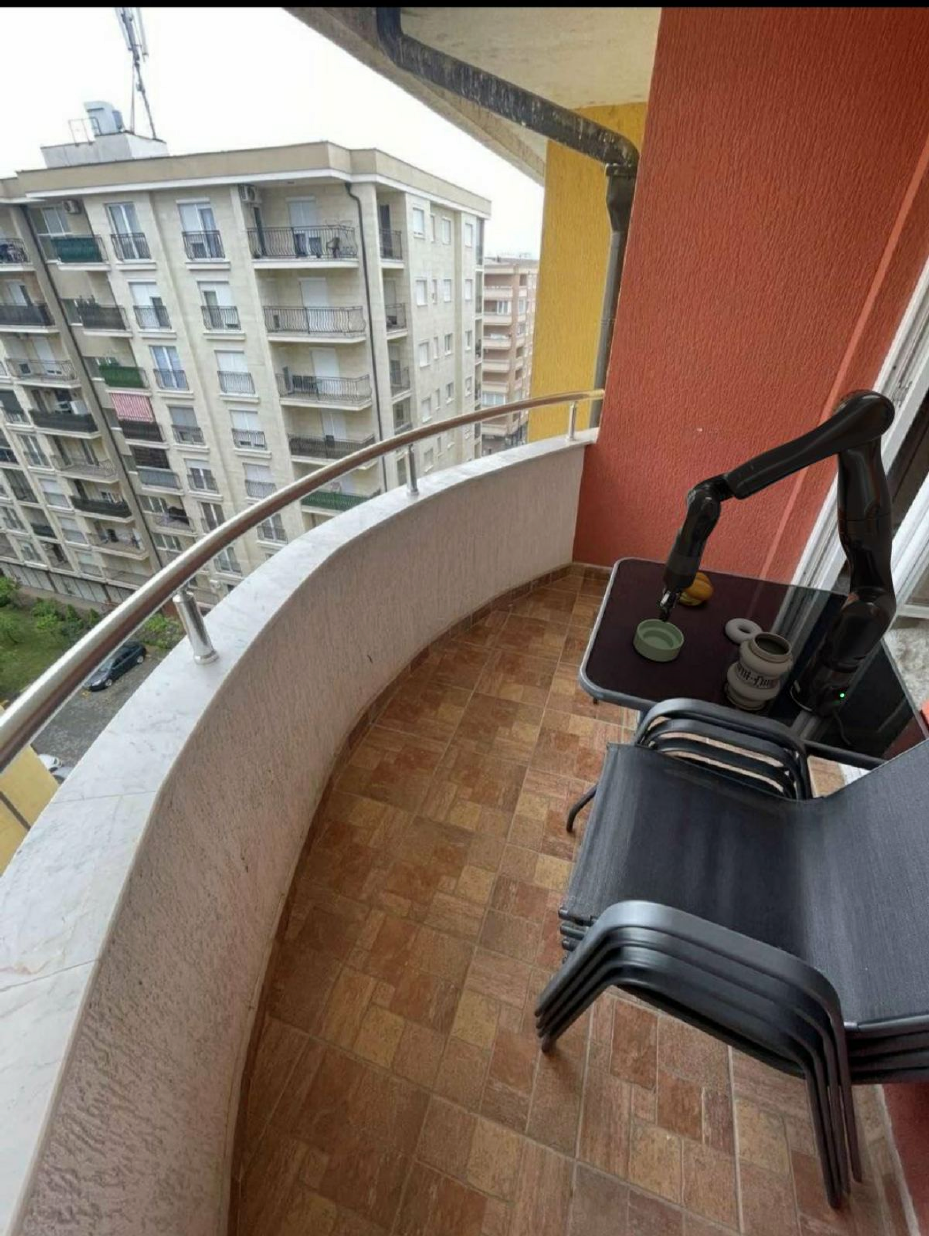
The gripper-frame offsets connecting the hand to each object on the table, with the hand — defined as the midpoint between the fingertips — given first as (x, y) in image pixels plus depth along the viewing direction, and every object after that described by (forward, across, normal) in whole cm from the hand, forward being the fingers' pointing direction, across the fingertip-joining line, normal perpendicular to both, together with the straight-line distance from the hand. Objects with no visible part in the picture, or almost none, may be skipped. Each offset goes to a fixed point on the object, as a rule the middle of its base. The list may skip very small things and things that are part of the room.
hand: (663, 620), depth 144 cm
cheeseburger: (+11, +29, +2) cm, 31 cm away
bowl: (+11, +1, 0) cm, 11 cm away
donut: (+11, +23, -16) cm, 30 cm away
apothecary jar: (+11, 0, -25) cm, 27 cm away
